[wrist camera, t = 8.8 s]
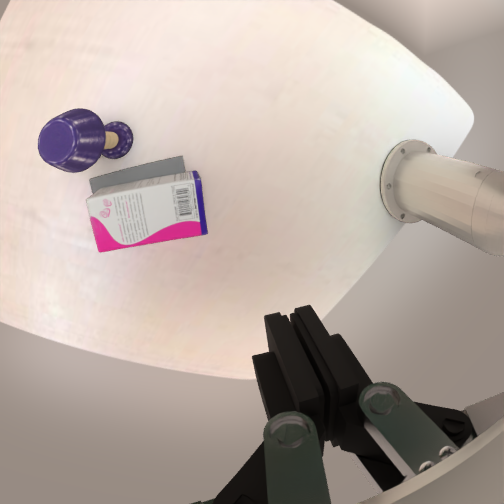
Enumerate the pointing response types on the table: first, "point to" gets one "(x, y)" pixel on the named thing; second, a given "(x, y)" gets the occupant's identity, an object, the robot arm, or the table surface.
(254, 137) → the table surface
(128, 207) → the supplement box
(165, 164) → the mat
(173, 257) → the table surface
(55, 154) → the toy lamp
